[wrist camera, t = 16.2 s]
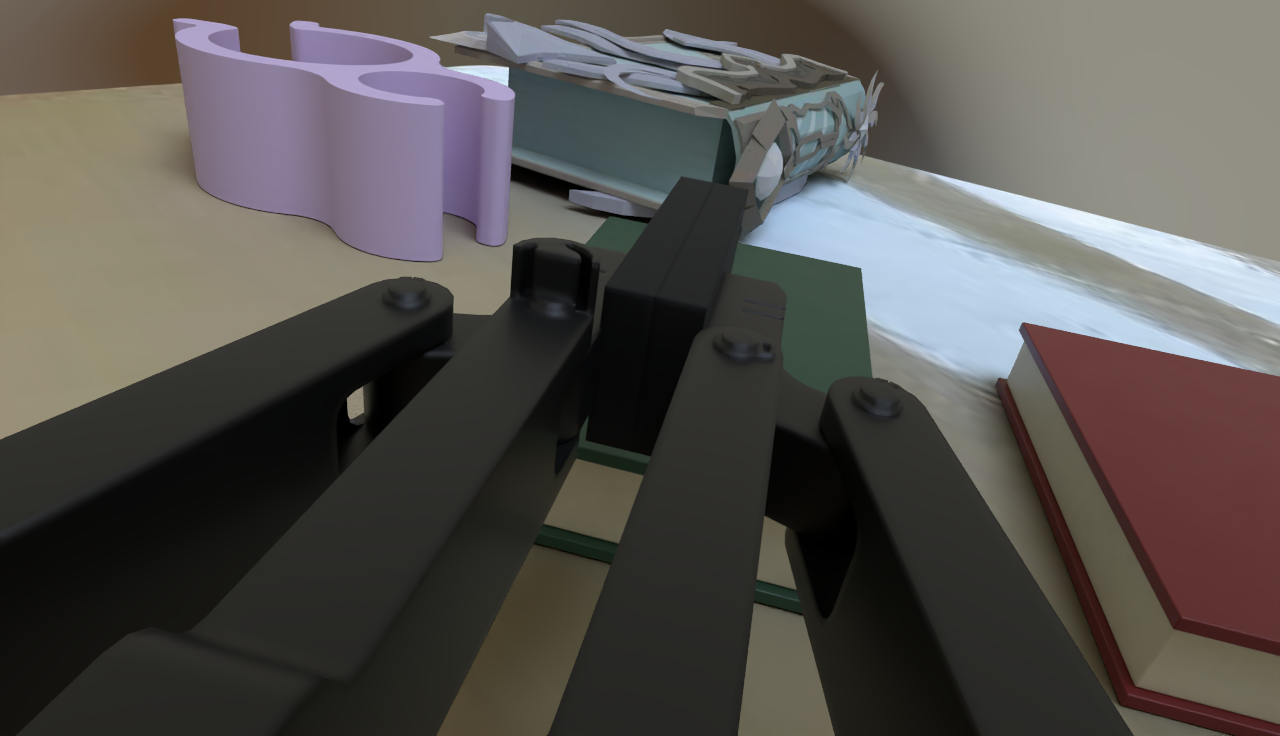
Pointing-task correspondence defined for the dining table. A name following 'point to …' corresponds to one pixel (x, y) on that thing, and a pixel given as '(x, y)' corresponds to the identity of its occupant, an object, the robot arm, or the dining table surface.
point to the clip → (349, 135)
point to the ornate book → (670, 113)
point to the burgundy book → (1162, 517)
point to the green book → (813, 354)
